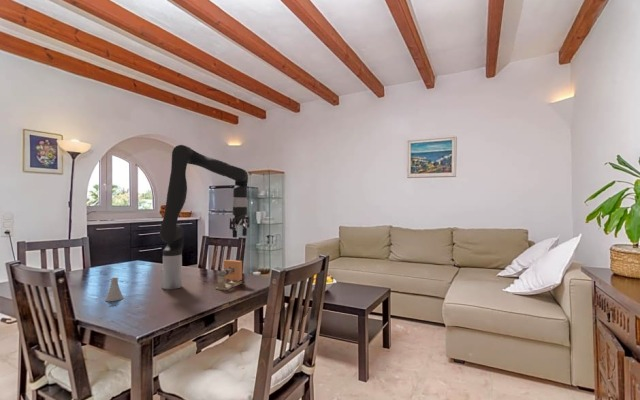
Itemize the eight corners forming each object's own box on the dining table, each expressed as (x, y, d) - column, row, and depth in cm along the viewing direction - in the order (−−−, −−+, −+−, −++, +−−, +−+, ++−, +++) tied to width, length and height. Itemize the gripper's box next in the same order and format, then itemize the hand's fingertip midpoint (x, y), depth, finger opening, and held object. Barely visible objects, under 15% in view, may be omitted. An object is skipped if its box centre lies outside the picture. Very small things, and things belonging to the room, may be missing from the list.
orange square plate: (223, 278, 181) (223, 260, 181) (226, 277, 183) (226, 259, 183) (239, 280, 177) (239, 261, 177) (242, 279, 179) (241, 260, 179)
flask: (104, 302, 149) (104, 280, 149) (106, 298, 155) (106, 277, 155) (122, 300, 152) (122, 278, 152) (124, 296, 159) (123, 275, 159)
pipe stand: (225, 290, 169) (225, 271, 169) (215, 289, 171) (215, 271, 171) (241, 283, 183) (241, 266, 183) (232, 282, 185) (232, 265, 185)
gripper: (242, 205, 184) (241, 235, 184) (225, 206, 170) (225, 237, 170) (253, 206, 181) (253, 235, 181) (237, 206, 168) (237, 238, 168)
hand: (239, 236), depth 176 cm, fingers open, 8 cm apart
